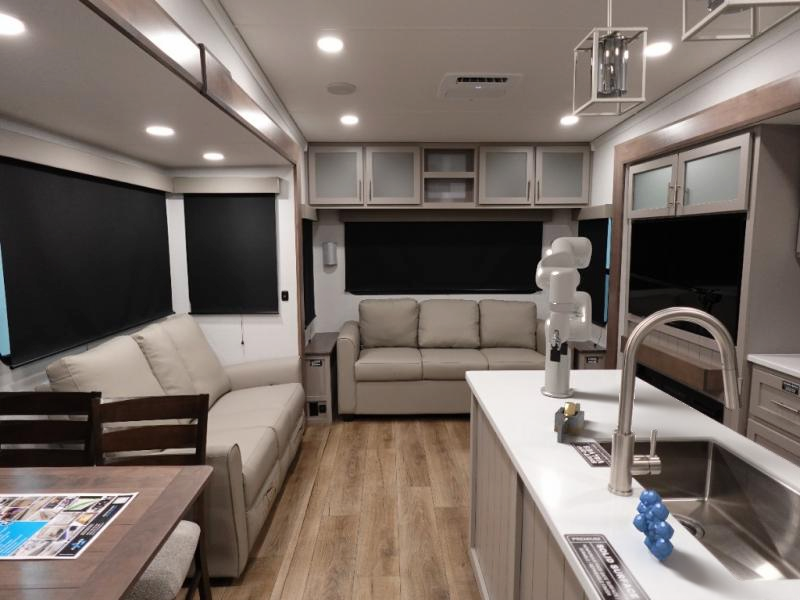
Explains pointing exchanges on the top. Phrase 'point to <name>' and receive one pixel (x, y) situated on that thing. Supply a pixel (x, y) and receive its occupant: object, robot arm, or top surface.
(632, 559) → the top surface
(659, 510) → the grapes
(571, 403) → the hinge pin
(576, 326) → the robot arm
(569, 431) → the hinge
